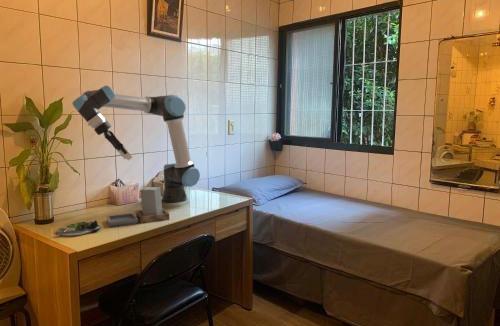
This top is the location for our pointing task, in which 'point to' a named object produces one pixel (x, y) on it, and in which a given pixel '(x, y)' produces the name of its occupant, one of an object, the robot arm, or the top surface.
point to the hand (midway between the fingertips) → (128, 158)
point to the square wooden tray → (152, 216)
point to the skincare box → (151, 201)
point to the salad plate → (79, 228)
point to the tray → (122, 220)
